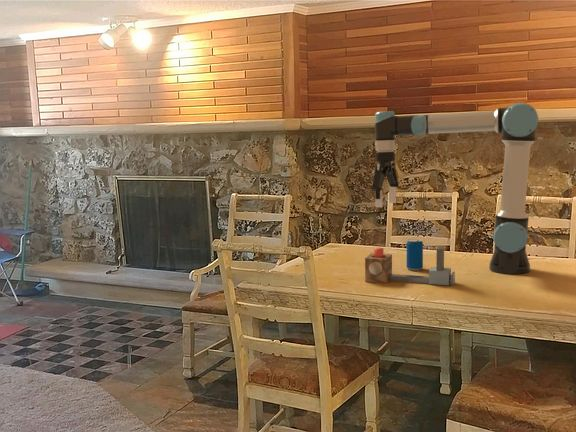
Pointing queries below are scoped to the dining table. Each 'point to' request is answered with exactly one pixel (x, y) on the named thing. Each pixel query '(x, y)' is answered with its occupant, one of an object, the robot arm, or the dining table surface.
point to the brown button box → (378, 268)
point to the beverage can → (414, 254)
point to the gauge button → (378, 252)
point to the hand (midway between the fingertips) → (385, 205)
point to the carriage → (439, 270)
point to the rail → (416, 278)
